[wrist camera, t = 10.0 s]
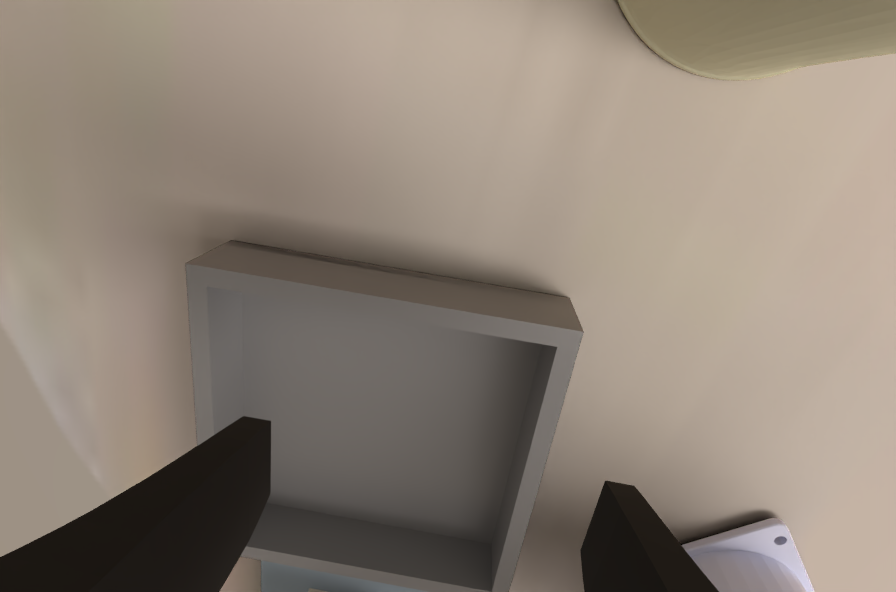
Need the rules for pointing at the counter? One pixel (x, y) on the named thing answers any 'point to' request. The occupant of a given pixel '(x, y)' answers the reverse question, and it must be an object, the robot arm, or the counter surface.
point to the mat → (317, 581)
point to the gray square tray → (383, 409)
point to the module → (315, 590)
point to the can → (761, 33)
